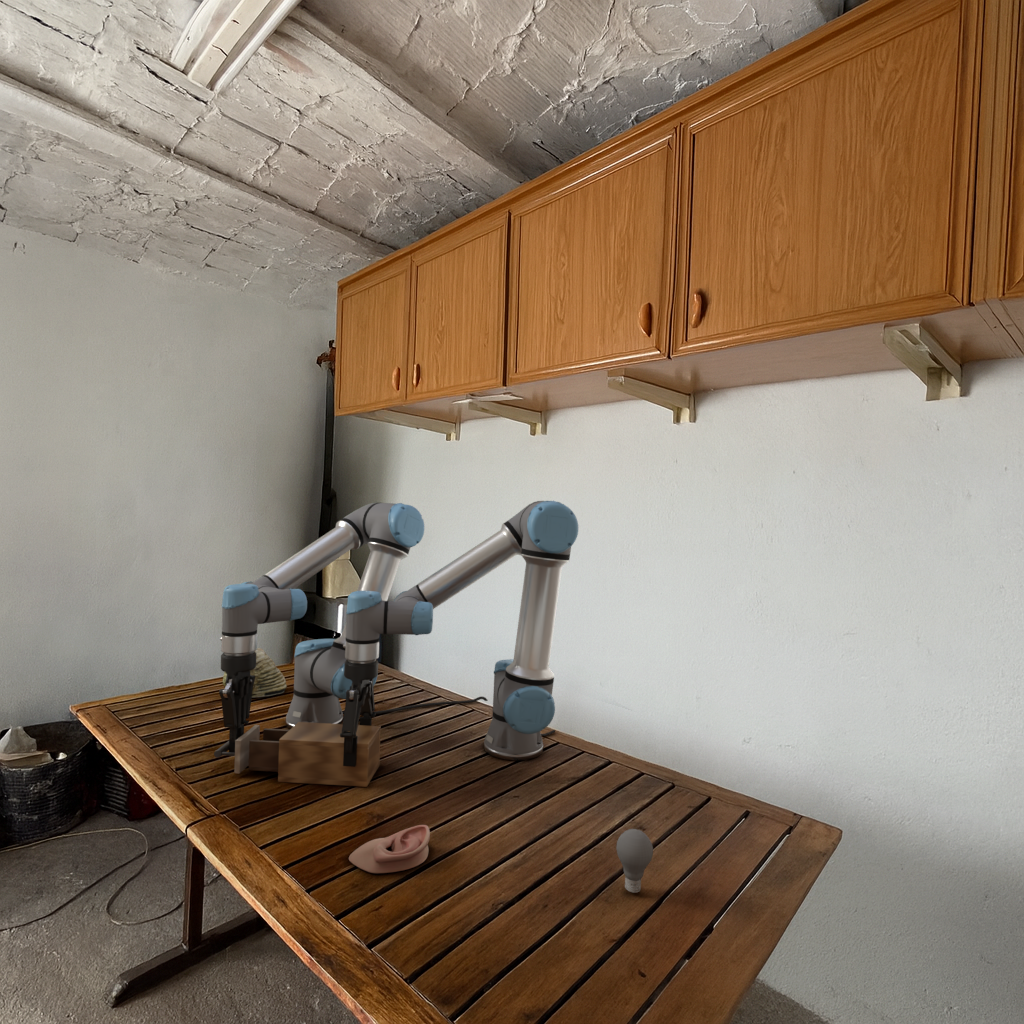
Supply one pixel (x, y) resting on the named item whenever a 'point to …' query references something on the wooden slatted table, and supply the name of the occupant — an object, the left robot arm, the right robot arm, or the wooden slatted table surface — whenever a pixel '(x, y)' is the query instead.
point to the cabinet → (327, 755)
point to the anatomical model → (393, 851)
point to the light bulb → (634, 857)
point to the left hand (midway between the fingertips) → (236, 753)
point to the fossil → (265, 676)
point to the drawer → (255, 750)
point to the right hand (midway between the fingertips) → (357, 754)
